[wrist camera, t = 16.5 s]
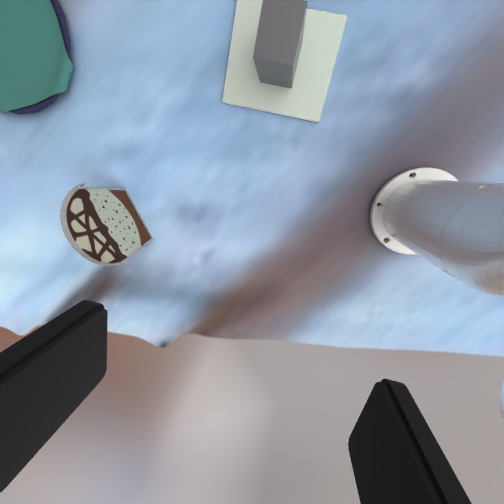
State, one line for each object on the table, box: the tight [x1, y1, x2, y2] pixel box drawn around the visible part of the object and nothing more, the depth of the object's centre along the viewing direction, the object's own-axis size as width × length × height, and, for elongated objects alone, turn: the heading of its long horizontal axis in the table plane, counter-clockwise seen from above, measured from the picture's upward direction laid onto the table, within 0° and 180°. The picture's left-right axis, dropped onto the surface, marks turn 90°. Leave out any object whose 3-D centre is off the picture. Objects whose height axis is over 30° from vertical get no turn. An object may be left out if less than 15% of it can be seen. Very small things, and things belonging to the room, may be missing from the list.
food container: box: [60, 182, 153, 266], centre depth 39 cm, size 12×6×10 cm, turn 24°
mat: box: [222, 0, 347, 123], centre depth 33 cm, size 14×12×1 cm
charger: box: [253, 0, 307, 89], centre depth 29 cm, size 4×6×8 cm
